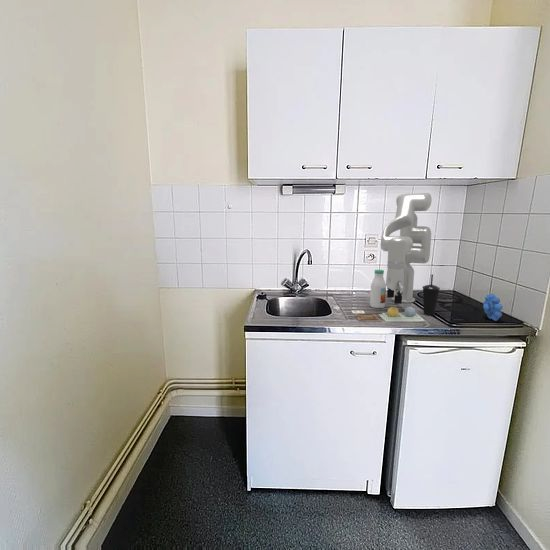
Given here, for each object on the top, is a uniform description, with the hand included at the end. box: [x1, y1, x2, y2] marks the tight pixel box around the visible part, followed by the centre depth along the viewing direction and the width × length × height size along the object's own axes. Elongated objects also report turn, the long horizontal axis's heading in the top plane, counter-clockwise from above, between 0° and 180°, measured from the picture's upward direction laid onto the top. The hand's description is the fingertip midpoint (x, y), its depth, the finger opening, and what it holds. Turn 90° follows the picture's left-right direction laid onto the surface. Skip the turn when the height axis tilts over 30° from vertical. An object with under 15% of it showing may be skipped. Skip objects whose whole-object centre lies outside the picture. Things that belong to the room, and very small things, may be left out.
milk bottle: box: [369, 269, 387, 309], centre depth 163 cm, size 8×8×20 cm
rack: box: [378, 312, 426, 323], centre depth 145 cm, size 10×18×2 cm, turn 89°
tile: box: [351, 310, 366, 315], centre depth 154 cm, size 4×6×1 cm, turn 89°
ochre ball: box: [386, 306, 400, 317], centre depth 144 cm, size 5×5×5 cm
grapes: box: [482, 293, 503, 322], centre depth 141 cm, size 12×7×12 cm, turn 177°
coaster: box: [353, 313, 382, 323], centre depth 145 cm, size 10×10×1 cm
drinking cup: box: [422, 273, 441, 317], centre depth 149 cm, size 8×8×20 cm
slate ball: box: [403, 306, 417, 317], centre depth 144 cm, size 5×5×5 cm
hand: (394, 300), depth 144 cm, fingers open, 9 cm apart
